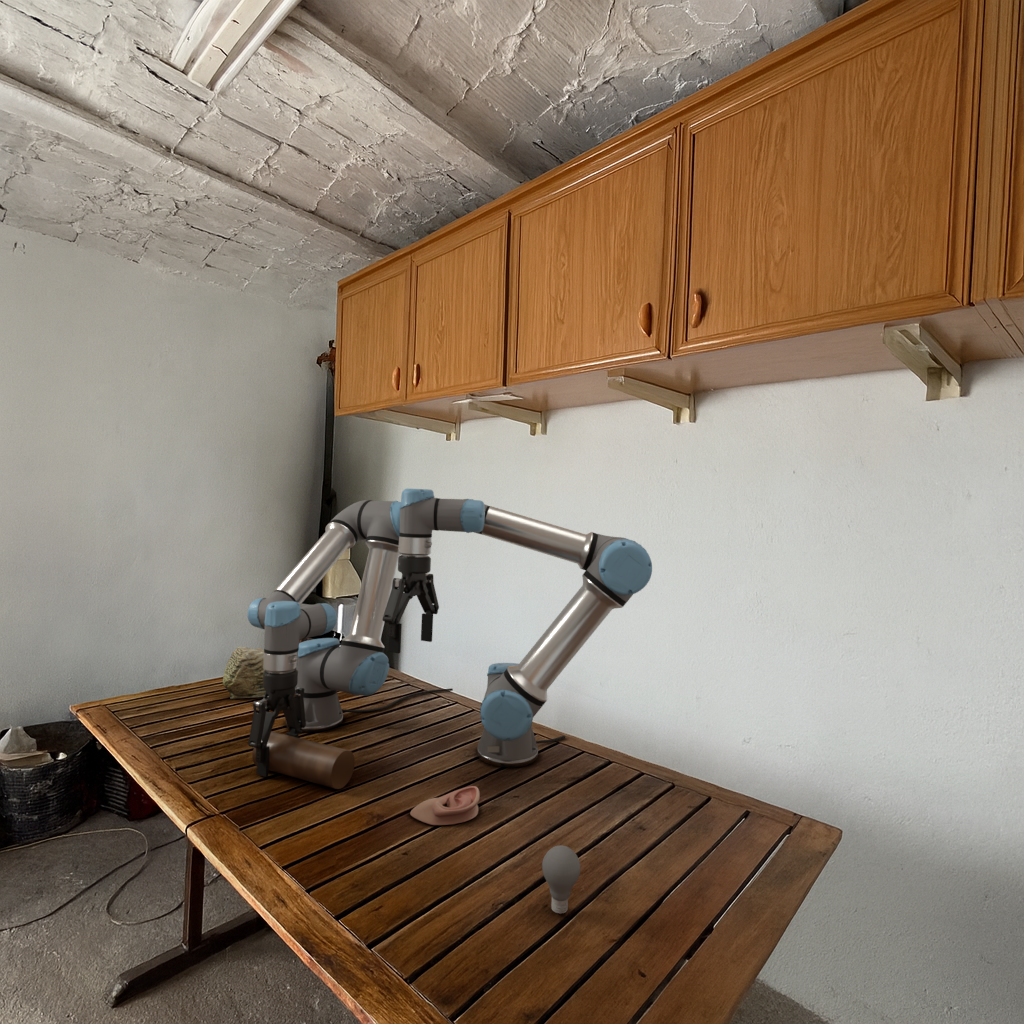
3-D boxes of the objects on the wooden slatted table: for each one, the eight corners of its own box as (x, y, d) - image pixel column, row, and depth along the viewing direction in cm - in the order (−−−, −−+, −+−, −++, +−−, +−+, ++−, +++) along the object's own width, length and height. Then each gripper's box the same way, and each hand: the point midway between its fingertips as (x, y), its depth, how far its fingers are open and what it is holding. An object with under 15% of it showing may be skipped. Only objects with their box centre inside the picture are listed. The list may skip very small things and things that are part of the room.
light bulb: (538, 899, 102) (540, 837, 102) (574, 898, 103) (577, 837, 103) (542, 923, 96) (545, 859, 96) (581, 923, 97) (584, 858, 97)
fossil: (218, 695, 195) (220, 647, 195) (278, 685, 208) (279, 640, 207) (228, 703, 189) (230, 653, 188) (289, 692, 201) (290, 645, 201)
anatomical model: (405, 801, 125) (424, 776, 136) (404, 821, 125) (423, 795, 136) (470, 810, 122) (484, 785, 133) (469, 831, 122) (483, 803, 133)
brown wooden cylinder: (251, 773, 144) (252, 737, 143) (278, 760, 151) (279, 726, 151) (330, 795, 135) (331, 757, 134) (354, 780, 142) (355, 744, 142)
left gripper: (258, 683, 134) (254, 789, 135) (324, 662, 153) (320, 755, 154) (231, 678, 137) (228, 781, 138) (300, 657, 156) (296, 748, 157)
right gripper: (397, 560, 134) (393, 660, 134) (455, 553, 157) (451, 638, 157) (368, 557, 137) (364, 655, 137) (428, 551, 160) (425, 634, 160)
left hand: (277, 767), depth 146 cm, fingers closed on brown wooden cylinder, 8 cm apart
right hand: (411, 646), depth 147 cm, fingers open, 13 cm apart
